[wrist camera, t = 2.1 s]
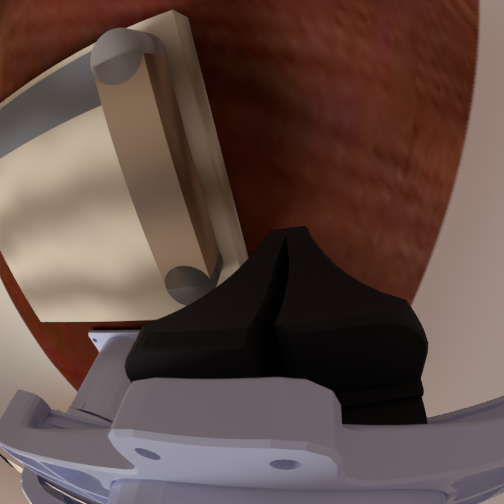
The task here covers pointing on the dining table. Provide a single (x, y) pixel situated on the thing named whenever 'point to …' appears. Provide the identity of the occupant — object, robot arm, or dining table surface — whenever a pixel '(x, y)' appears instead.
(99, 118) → the maple seat
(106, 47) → the walnut leg
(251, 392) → the robot arm
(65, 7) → the dining table surface
